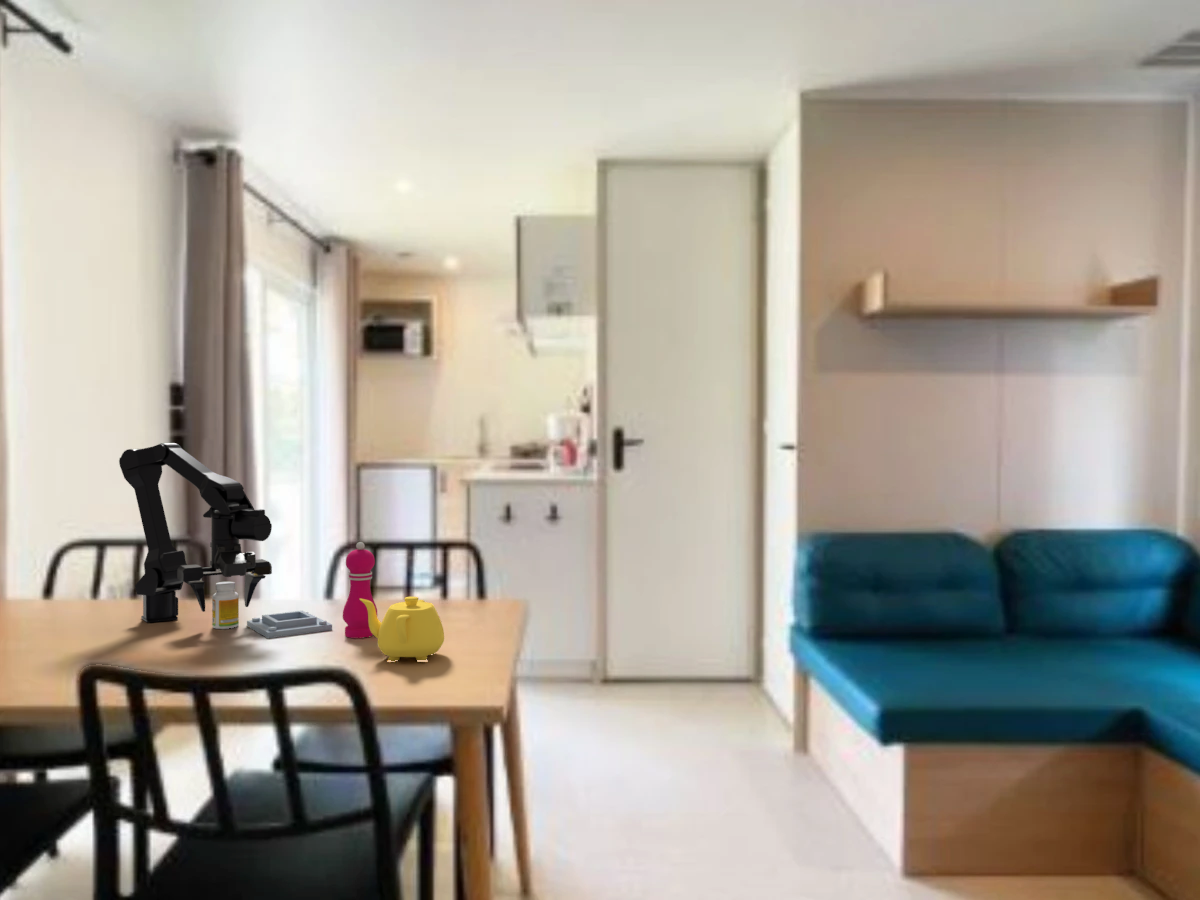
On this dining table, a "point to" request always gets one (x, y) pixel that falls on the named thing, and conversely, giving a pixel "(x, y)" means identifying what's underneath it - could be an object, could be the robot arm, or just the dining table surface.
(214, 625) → the supplement bottle
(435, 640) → the teapot
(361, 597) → the pepper mill
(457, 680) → the dining table surface
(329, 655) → the dining table surface
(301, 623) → the base plate
